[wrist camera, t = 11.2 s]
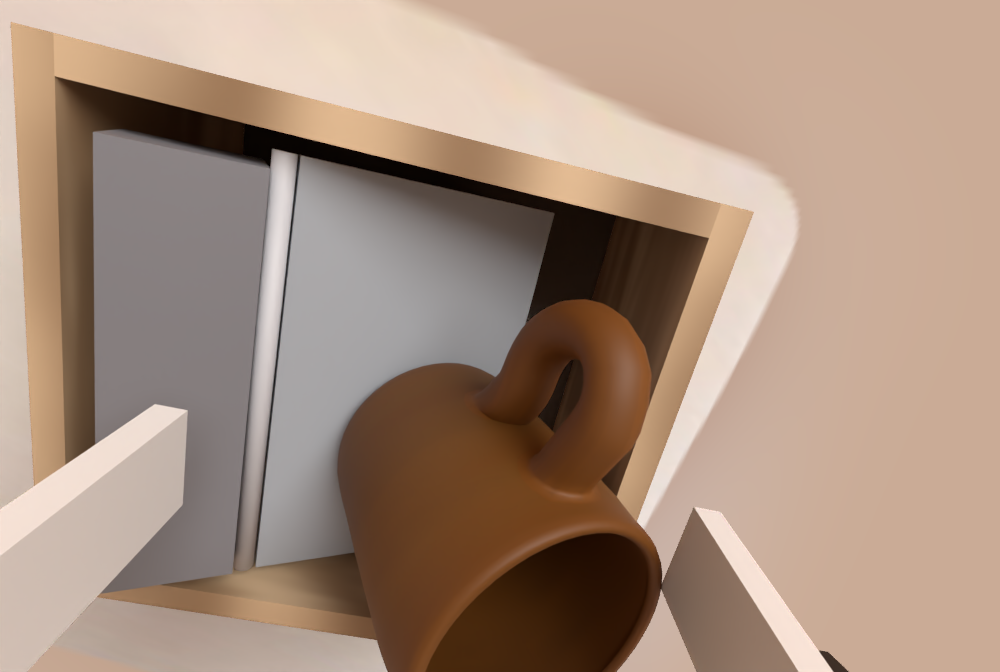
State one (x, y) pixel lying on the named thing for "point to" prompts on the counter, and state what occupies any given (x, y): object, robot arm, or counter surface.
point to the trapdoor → (303, 332)
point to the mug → (505, 506)
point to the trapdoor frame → (231, 103)
